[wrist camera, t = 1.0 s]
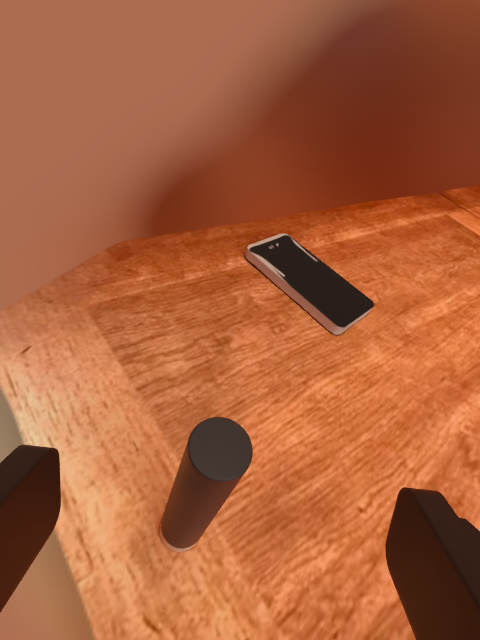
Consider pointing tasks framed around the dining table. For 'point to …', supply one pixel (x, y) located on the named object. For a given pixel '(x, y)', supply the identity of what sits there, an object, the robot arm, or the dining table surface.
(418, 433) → the dining table surface
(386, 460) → the dining table surface
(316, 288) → the smartphone
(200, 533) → the dark grey cylinder
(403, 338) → the dining table surface
